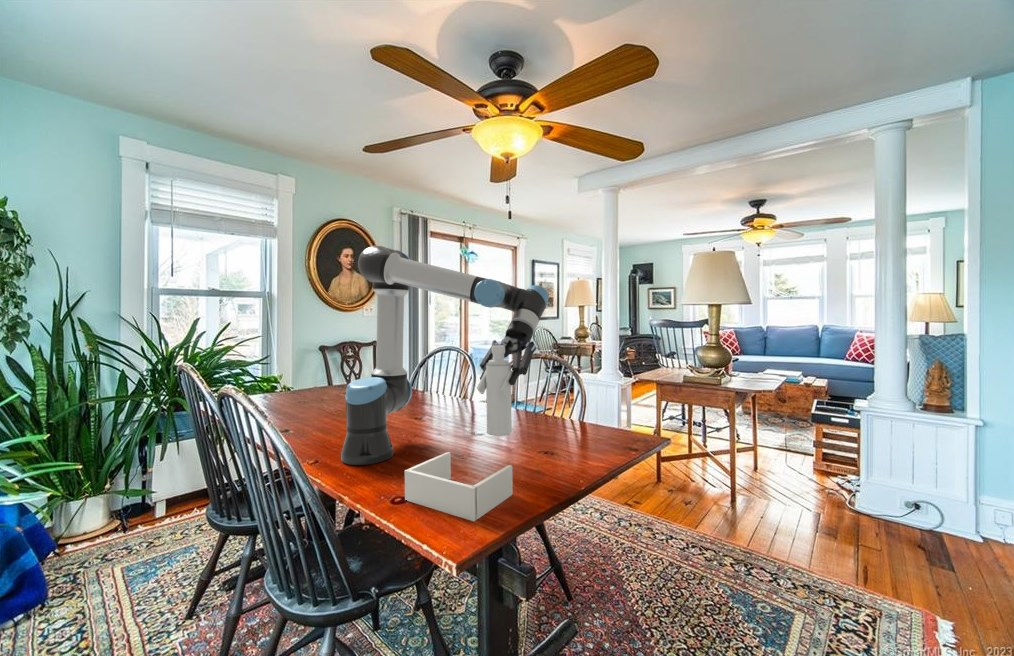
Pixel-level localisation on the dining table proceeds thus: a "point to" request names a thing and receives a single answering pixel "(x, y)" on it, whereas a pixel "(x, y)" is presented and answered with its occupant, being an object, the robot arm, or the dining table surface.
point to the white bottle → (498, 394)
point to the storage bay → (455, 489)
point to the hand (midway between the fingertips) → (491, 392)
